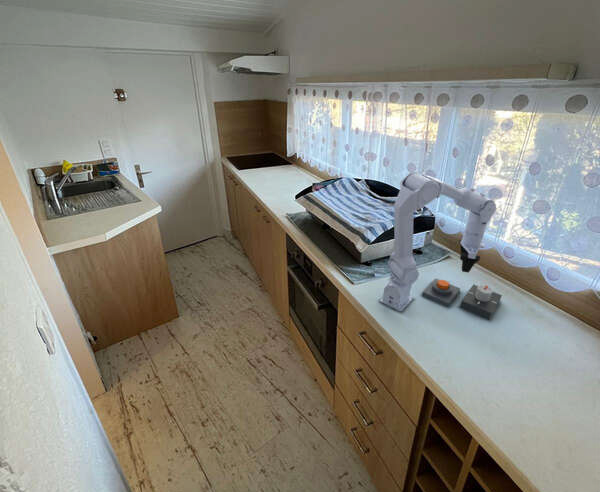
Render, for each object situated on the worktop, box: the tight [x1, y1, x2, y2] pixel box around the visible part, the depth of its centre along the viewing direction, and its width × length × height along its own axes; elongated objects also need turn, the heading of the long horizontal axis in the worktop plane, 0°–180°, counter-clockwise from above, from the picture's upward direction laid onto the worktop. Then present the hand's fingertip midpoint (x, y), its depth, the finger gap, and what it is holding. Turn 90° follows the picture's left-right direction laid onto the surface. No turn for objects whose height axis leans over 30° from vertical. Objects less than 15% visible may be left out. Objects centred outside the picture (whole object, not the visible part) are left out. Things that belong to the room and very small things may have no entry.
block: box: [421, 277, 461, 308], centre depth 108 cm, size 11×9×4 cm
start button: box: [437, 279, 450, 290], centre depth 107 cm, size 4×4×2 cm
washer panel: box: [459, 284, 502, 321], centre depth 103 cm, size 12×9×3 cm
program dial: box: [475, 284, 494, 302], centre depth 101 cm, size 4×4×4 cm
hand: (464, 265), depth 107 cm, fingers open, 7 cm apart
